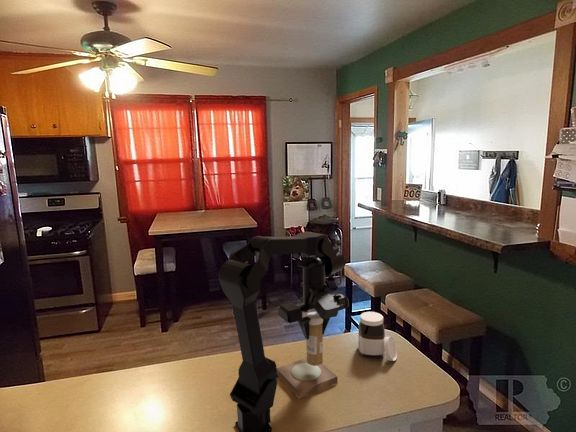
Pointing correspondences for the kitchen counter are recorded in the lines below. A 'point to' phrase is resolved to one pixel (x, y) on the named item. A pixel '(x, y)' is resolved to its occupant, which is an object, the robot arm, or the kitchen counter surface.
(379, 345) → the spread jar
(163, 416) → the kitchen counter surface
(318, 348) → the sprinkles bottle
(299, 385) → the walnut plinth
